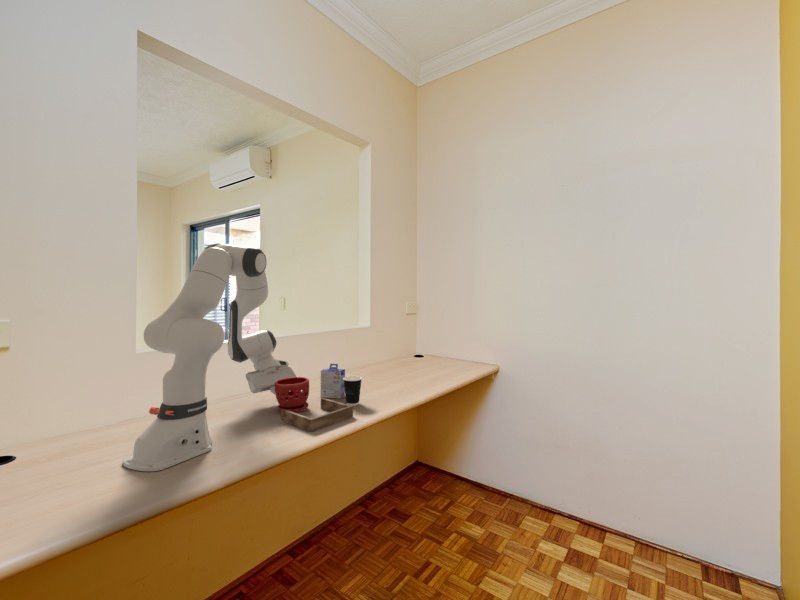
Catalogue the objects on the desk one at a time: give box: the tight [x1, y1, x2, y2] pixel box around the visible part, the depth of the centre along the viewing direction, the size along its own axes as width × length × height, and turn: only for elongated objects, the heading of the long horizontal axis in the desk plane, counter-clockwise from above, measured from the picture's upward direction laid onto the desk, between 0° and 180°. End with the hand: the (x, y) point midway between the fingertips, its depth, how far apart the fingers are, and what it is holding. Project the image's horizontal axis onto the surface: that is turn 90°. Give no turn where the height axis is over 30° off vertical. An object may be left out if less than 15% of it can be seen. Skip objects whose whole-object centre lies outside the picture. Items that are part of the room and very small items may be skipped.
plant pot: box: [274, 376, 310, 414], centre depth 146 cm, size 13×13×12 cm
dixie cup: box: [343, 375, 363, 407], centre depth 154 cm, size 8×8×11 cm
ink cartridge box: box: [319, 363, 346, 400], centre depth 164 cm, size 10×6×14 cm, turn 78°
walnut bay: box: [280, 397, 354, 433], centre depth 136 cm, size 17×19×4 cm
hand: (280, 395), depth 150 cm, fingers closed
